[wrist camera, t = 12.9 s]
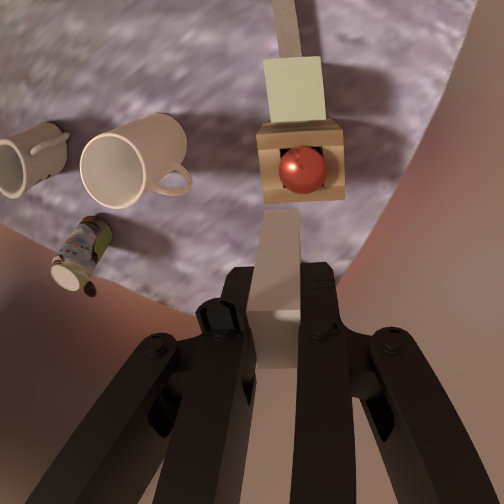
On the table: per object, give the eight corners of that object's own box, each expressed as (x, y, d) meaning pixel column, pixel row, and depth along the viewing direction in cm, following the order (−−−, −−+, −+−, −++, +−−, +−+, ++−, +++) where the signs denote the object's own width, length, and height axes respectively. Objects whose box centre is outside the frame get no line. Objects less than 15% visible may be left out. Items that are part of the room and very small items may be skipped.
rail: (256, -24, 24) (252, -34, 21) (299, -27, 24) (300, -38, 20) (276, 120, 34) (274, 125, 31) (318, 118, 33) (321, 123, 30)
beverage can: (102, 206, 43) (57, 246, 33) (125, 244, 47) (88, 290, 37) (78, 219, 45) (35, 259, 35) (100, 255, 49) (63, 299, 38)
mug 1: (43, 181, 42) (4, 207, 34) (25, 135, 38) (-17, 154, 29) (92, 156, 39) (49, 180, 31) (72, 102, 35) (25, 115, 26)
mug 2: (220, 149, 37) (192, 180, 27) (186, 198, 41) (152, 243, 31) (147, 101, 34) (95, 115, 24) (119, 153, 39) (68, 183, 28)
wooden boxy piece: (264, 121, 35) (255, 134, 27) (332, 118, 33) (345, 130, 26) (270, 176, 38) (264, 203, 31) (335, 172, 37) (346, 199, 29)
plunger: (279, 135, 32) (276, 149, 26) (319, 133, 31) (325, 147, 25) (283, 173, 34) (280, 195, 28) (321, 171, 34) (327, 193, 28)
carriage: (269, 64, 30) (263, 60, 23) (313, 61, 29) (320, 56, 22) (275, 113, 33) (271, 122, 26) (318, 110, 33) (326, 119, 25)
